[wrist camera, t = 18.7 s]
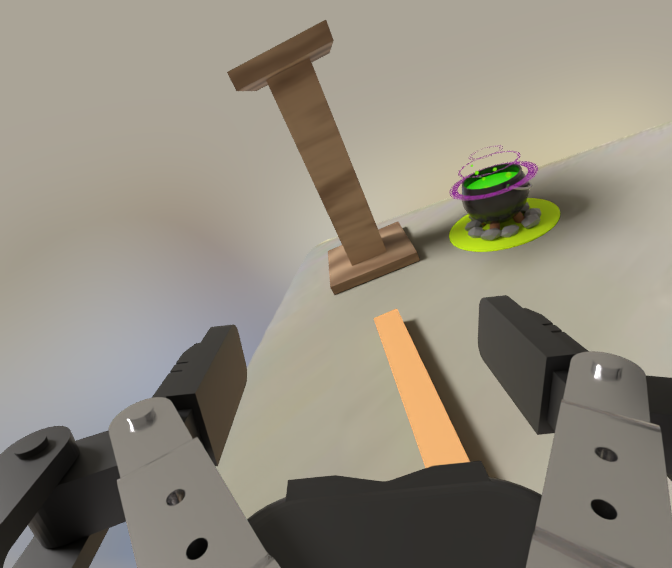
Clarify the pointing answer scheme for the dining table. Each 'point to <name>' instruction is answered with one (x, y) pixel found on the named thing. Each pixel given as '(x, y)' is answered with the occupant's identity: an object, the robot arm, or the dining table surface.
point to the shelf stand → (326, 158)
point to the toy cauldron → (500, 210)
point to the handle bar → (419, 395)
